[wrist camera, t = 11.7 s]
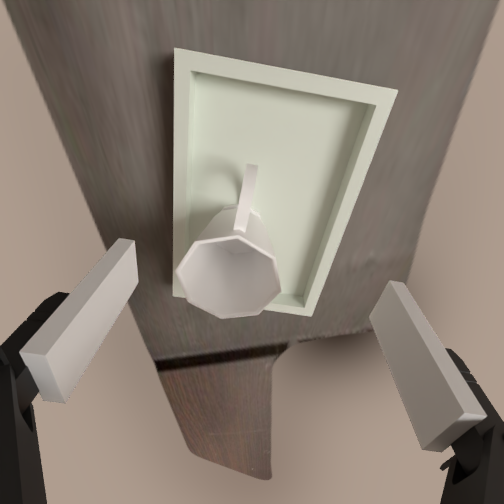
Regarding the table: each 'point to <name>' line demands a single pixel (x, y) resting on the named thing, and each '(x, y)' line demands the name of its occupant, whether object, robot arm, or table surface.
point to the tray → (273, 160)
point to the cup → (232, 261)
